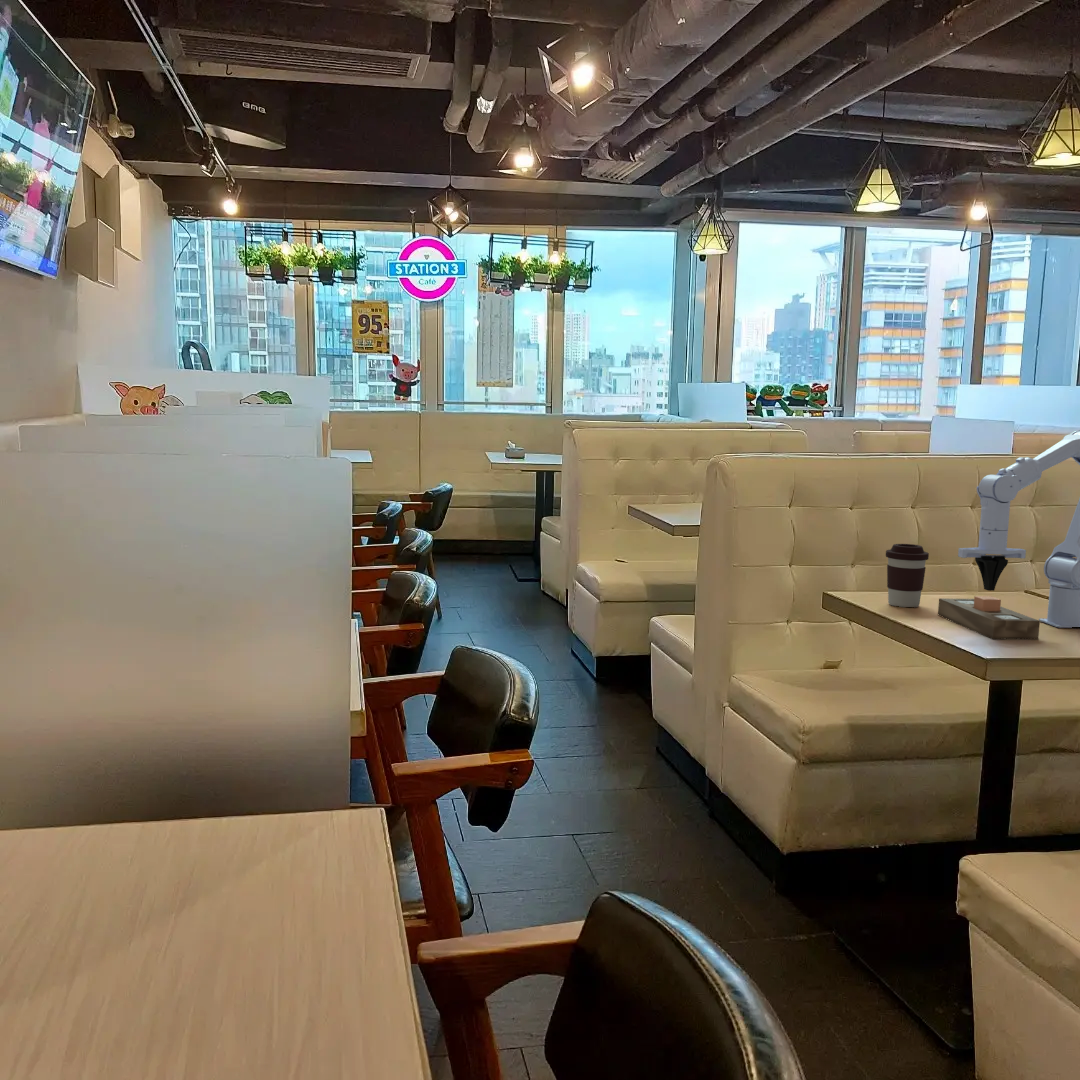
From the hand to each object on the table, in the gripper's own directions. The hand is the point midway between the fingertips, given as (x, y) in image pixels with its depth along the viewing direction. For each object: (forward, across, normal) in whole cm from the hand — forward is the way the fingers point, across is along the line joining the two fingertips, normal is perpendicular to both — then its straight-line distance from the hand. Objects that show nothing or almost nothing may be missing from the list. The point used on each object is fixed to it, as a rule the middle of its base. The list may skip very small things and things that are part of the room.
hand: (989, 589), depth 222 cm
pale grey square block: (+7, 0, +8) cm, 11 cm away
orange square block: (+5, 0, 0) cm, 5 cm away
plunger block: (+8, 0, 0) cm, 8 cm away
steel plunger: (+7, 0, -9) cm, 12 cm away
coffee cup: (+9, +8, -25) cm, 28 cm away
